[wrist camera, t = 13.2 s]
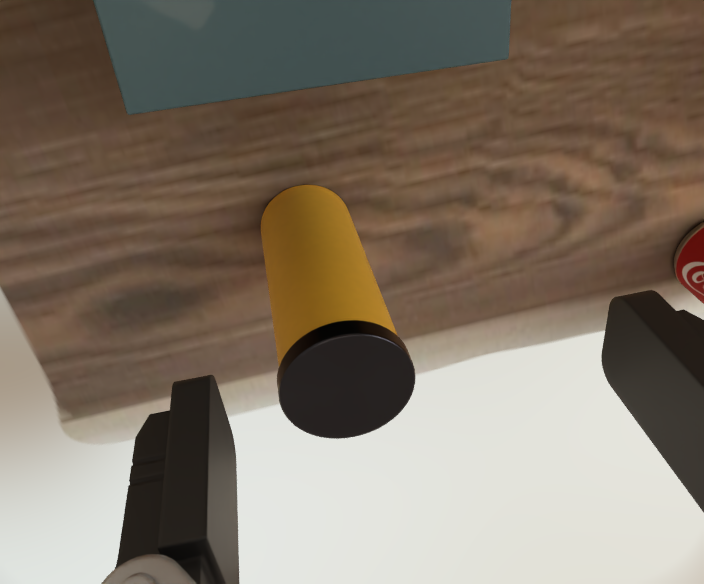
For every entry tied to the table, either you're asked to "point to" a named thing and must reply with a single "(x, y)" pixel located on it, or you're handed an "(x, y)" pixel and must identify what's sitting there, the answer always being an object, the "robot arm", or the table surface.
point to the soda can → (691, 262)
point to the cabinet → (287, 44)
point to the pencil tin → (330, 320)
